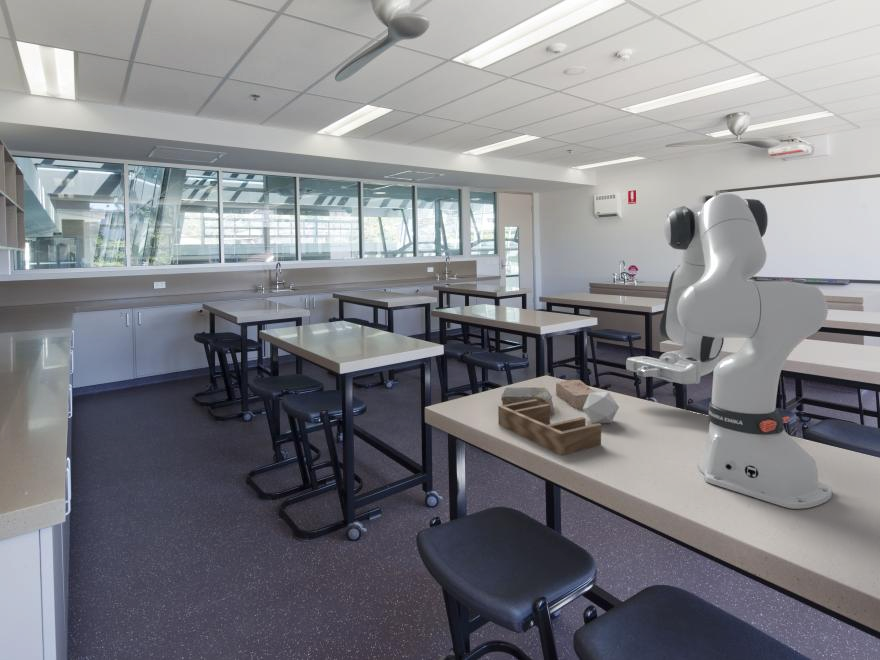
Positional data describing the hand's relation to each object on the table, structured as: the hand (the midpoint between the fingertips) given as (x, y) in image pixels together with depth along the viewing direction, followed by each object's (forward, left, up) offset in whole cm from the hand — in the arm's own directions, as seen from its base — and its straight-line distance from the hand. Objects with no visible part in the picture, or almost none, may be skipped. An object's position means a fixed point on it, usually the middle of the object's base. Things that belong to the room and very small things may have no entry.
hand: (640, 372), depth 144 cm
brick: (+18, +7, -12) cm, 22 cm away
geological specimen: (+20, +24, -12) cm, 33 cm away
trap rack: (0, +33, -11) cm, 35 cm away
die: (0, +15, -11) cm, 19 cm away
